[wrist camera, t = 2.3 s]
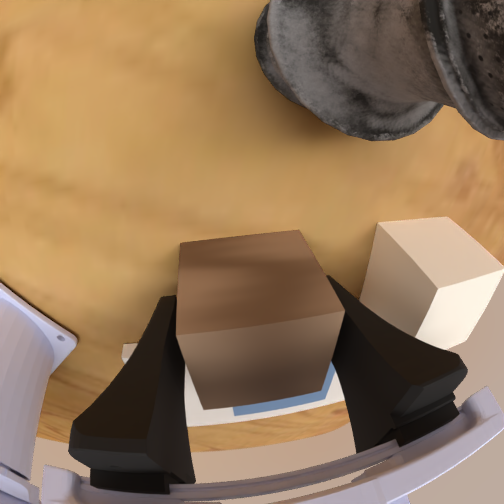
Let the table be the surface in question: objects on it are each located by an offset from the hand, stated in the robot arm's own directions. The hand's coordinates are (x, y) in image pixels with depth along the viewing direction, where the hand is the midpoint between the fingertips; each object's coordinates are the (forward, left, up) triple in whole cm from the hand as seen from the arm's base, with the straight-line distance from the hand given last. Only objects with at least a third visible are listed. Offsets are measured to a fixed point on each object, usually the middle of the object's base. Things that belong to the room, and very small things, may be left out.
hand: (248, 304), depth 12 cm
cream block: (+6, +7, -2) cm, 9 cm away
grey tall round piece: (-6, +9, -2) cm, 11 cm away
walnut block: (0, 0, -2) cm, 2 cm away
